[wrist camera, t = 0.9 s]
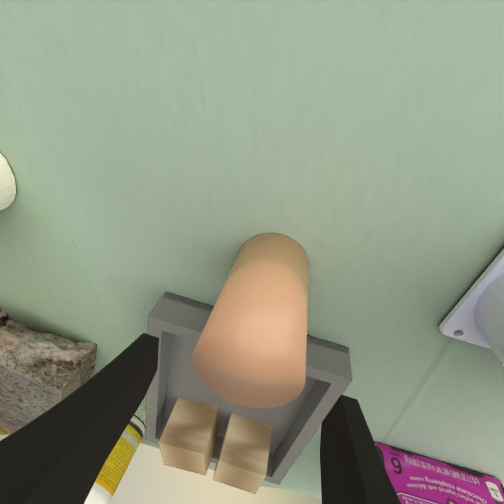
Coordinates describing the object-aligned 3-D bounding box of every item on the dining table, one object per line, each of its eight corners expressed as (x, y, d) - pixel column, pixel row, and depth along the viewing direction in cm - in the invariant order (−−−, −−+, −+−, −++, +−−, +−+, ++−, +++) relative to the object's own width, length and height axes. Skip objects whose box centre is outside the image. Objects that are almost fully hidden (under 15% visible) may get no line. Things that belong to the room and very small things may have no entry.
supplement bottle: (110, 400, 31) (35, 514, 23) (152, 423, 32) (95, 541, 24) (98, 418, 34) (28, 525, 26) (138, 438, 35) (82, 549, 26)
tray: (348, 347, 20) (352, 379, 18) (281, 455, 30) (278, 484, 28) (165, 291, 21) (148, 315, 19) (157, 414, 30) (145, 439, 28)
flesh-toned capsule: (319, 245, 17) (322, 354, 10) (296, 301, 19) (286, 419, 12) (245, 223, 17) (198, 316, 10) (232, 282, 19) (187, 387, 12)
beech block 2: (272, 426, 26) (265, 476, 23) (262, 445, 28) (255, 494, 25) (231, 413, 26) (219, 460, 23) (224, 433, 29) (212, 479, 25)
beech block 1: (218, 406, 26) (203, 453, 23) (218, 429, 28) (205, 475, 25) (178, 397, 27) (158, 442, 24) (181, 420, 29) (164, 464, 26)
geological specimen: (59, 384, 21) (56, 466, 29) (106, 328, 27) (94, 409, 34) (-78, 332, 21) (-45, 429, 28) (-2, 286, 26) (9, 378, 34)
